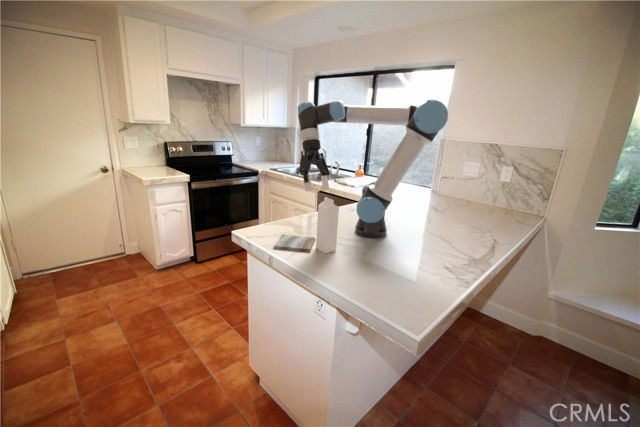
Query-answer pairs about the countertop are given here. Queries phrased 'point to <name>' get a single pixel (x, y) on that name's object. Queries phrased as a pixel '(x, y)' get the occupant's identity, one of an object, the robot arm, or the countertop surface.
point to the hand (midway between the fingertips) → (317, 190)
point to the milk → (327, 226)
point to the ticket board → (295, 243)
